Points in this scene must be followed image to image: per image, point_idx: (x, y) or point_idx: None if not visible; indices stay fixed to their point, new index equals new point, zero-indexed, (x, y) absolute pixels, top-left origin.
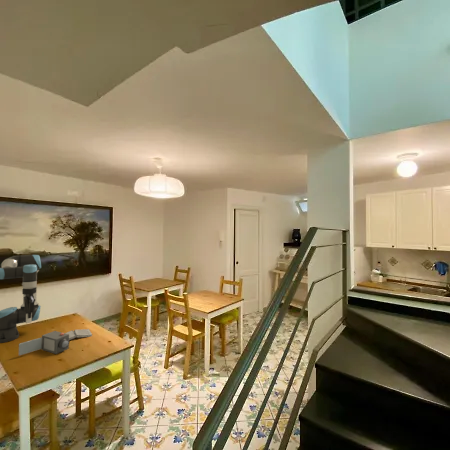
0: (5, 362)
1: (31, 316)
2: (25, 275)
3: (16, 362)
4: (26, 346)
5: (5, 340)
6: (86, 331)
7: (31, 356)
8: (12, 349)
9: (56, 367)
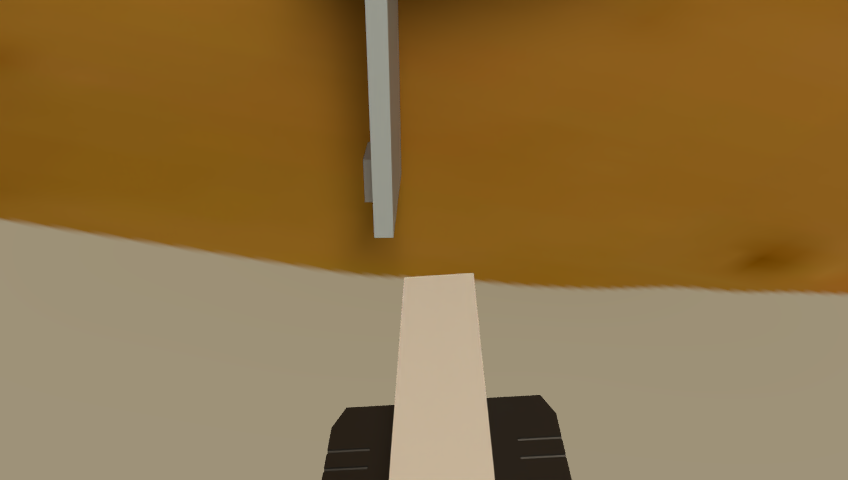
0: None
1: (482, 393)
2: None
3: (518, 207)
4: (394, 126)
5: None
6: None
7: (488, 54)
8: (56, 157)
9: None
